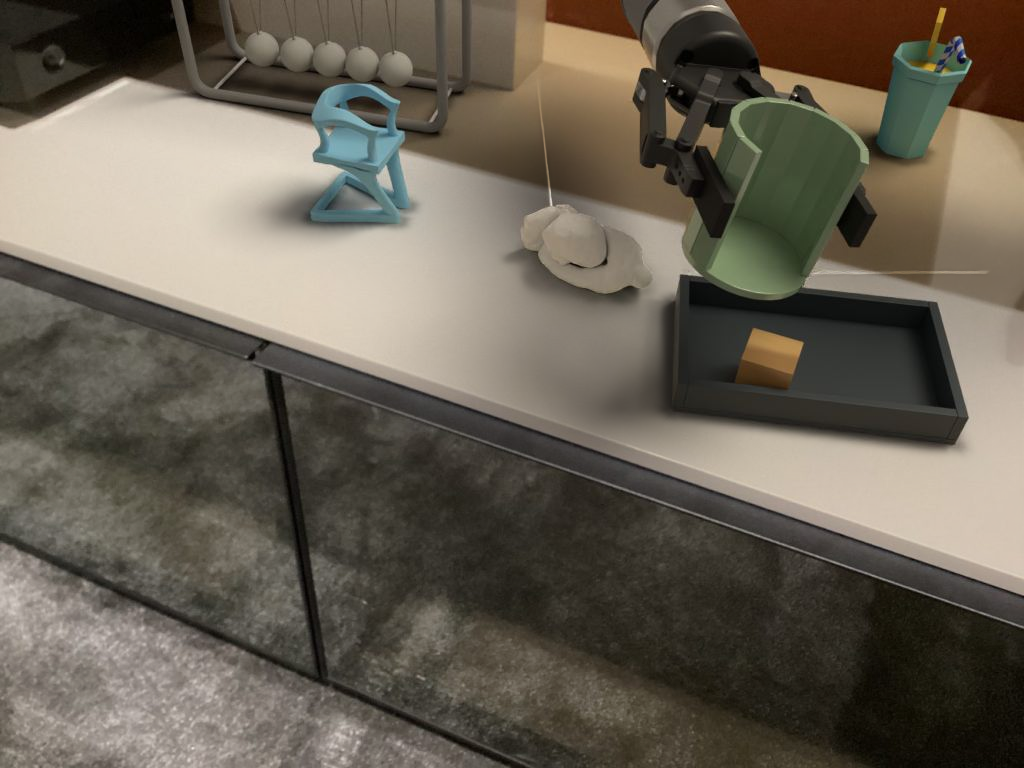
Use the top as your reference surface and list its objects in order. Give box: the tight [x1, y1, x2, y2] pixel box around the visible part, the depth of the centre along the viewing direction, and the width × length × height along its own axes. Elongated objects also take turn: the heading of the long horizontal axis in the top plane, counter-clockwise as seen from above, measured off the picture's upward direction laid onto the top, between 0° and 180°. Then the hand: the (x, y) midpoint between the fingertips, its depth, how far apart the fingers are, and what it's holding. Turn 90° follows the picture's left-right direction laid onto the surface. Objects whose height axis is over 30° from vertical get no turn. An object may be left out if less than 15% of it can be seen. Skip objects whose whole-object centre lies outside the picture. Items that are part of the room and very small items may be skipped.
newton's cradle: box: [170, 0, 473, 134], centre depth 103 cm, size 30×10×18 cm, turn 76°
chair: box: [309, 83, 411, 224], centre depth 90 cm, size 8×8×12 cm
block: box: [735, 328, 804, 390], centre depth 75 cm, size 4×4×4 cm
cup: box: [875, 7, 973, 160], centre depth 98 cm, size 14×8×15 cm, turn 173°
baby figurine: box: [519, 203, 653, 295], centre depth 85 cm, size 9×12×8 cm
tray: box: [671, 273, 970, 445], centre depth 78 cm, size 22×14×3 cm, turn 82°
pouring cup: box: [680, 97, 870, 300], centre depth 65 cm, size 9×9×10 cm
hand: (794, 226), depth 62 cm, fingers closed on pouring cup, 9 cm apart
